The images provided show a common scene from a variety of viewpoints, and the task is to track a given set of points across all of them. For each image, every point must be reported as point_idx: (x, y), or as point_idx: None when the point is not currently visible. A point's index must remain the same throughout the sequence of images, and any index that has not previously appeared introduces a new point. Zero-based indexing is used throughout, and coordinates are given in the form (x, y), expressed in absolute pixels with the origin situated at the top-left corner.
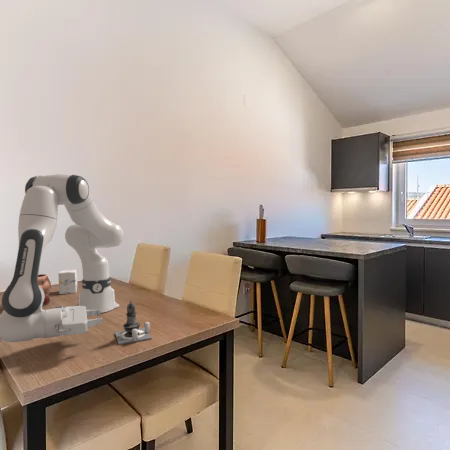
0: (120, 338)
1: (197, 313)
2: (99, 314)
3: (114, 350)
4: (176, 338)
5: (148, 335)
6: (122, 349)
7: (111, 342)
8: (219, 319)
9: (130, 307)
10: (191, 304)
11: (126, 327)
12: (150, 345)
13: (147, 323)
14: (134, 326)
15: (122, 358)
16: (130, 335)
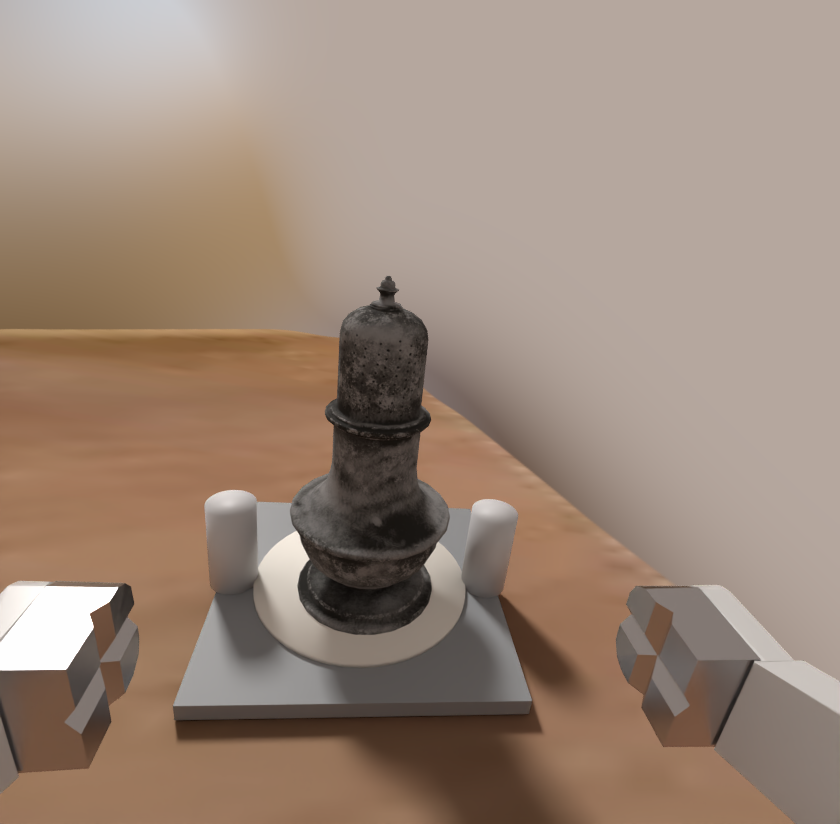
0: (411, 673)
1: (199, 359)
2: (126, 659)
3: (669, 762)
4: (489, 451)
5: None
6: None
7: (438, 781)
8: (331, 351)
9: (426, 341)
10: (40, 343)
11: (433, 542)
12: (569, 538)
13: None
14: (440, 498)
15: None
16: (419, 587)
